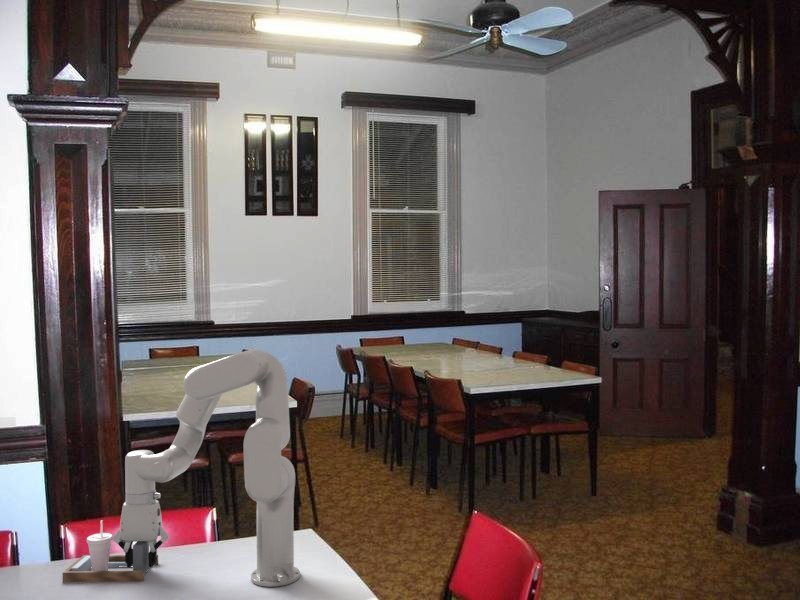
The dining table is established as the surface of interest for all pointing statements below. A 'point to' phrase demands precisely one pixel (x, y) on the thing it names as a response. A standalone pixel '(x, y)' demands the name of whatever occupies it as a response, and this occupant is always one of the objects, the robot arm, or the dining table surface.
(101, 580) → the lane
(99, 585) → the dining table surface
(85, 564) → the sled
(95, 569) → the smoothie
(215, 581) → the dining table surface
